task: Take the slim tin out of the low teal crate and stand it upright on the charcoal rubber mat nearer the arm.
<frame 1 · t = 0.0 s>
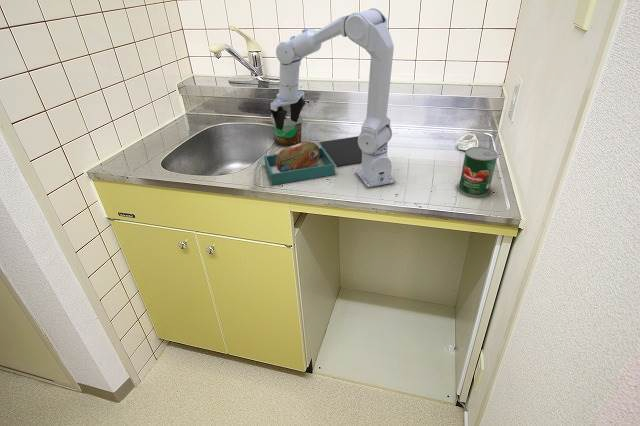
hand: (287, 124, 122), 11 cm above the worktop, tool pointing down, fingers open, 7 cm apart
food container: (285, 144, 136), on the worktop
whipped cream: (467, 148, 126), on the worktop
tin: (299, 170, 118), resting in crate
crate: (299, 170, 118), on the worktop
canned tomato: (473, 190, 104), on the worktop
mat: (351, 150, 129), on the worktop
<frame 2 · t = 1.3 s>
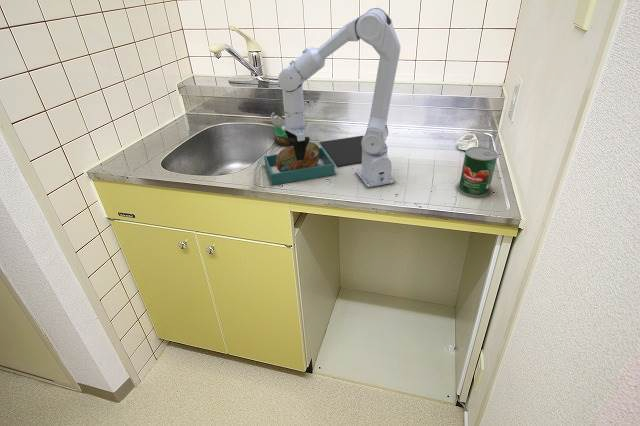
hand: (297, 154, 115), 5 cm above the worktop, tool pointing down, fingers open, 7 cm apart
nothing on the worktop moved.
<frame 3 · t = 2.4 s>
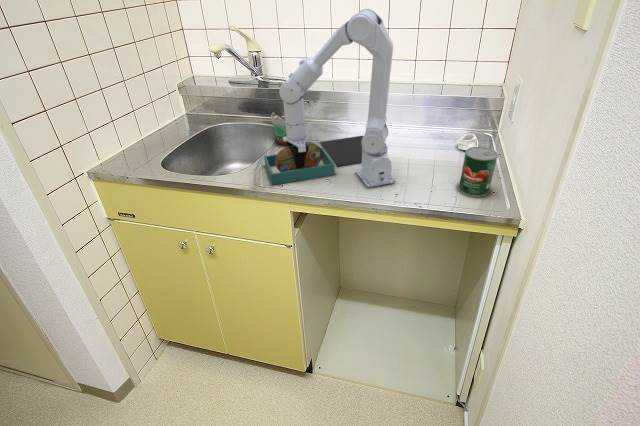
hand: (298, 164, 117), 2 cm above the worktop, tool pointing down, fingers closed on tin, 3 cm apart
tin: (299, 170, 118), resting in crate, touching gripper
everything else where it was.
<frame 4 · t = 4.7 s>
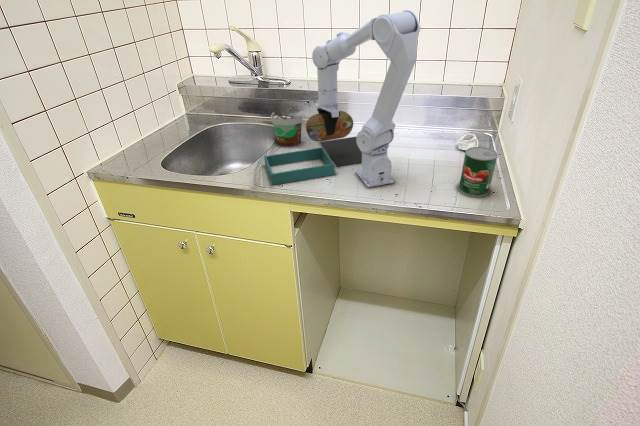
hand: (329, 132, 119), 9 cm above the worktop, tool pointing down, fingers closed on tin, 2 cm apart
tin: (329, 138, 121), point 7 cm above the worktop, touching gripper
everything else where it was.
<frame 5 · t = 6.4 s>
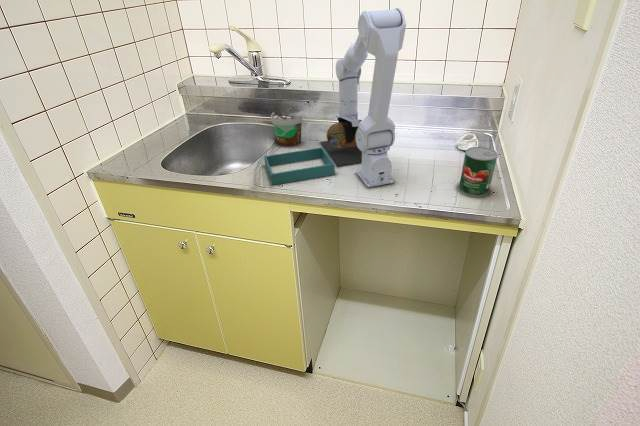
hand: (348, 140, 126), 4 cm above the worktop, tool pointing down, fingers closed on tin, 2 cm apart
tin: (348, 145, 128), point 2 cm above the worktop, touching gripper
everything else where it was.
when the fingers open (2 cm above the worktop, at t = 7.1 s): tin stays where it is, resting on mat.
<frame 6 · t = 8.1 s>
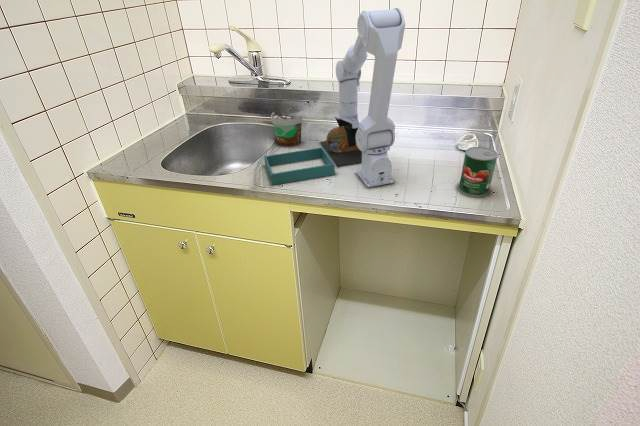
hand: (348, 141, 126), 3 cm above the worktop, tool pointing down, fingers open, 7 cm apart
tin: (348, 150, 129), resting on mat
everything else where it was.
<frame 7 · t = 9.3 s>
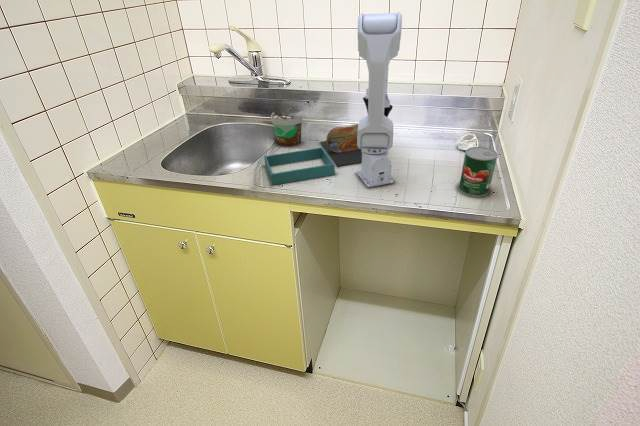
hand: (376, 122, 123), 9 cm above the worktop, tool pointing down, fingers open, 7 cm apart
nothing on the worktop moved.
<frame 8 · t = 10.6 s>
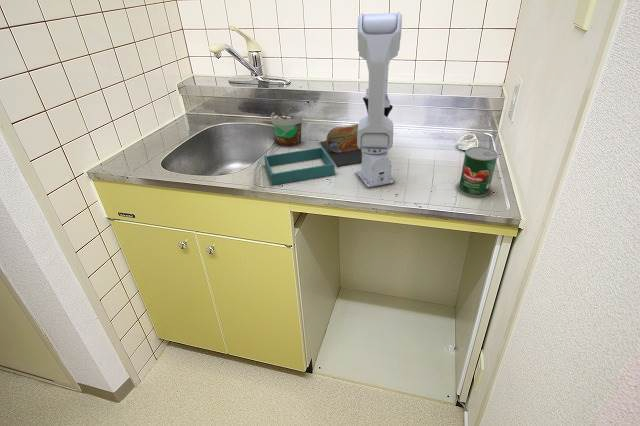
hand: (376, 122, 123), 9 cm above the worktop, tool pointing down, fingers open, 7 cm apart
nothing on the worktop moved.
at the end: tin inside the target area on the mat (0.3 cm from its centre), point 0.2 cm above the mat's base; tin tilted 0°; the gripper is holding nothing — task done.
